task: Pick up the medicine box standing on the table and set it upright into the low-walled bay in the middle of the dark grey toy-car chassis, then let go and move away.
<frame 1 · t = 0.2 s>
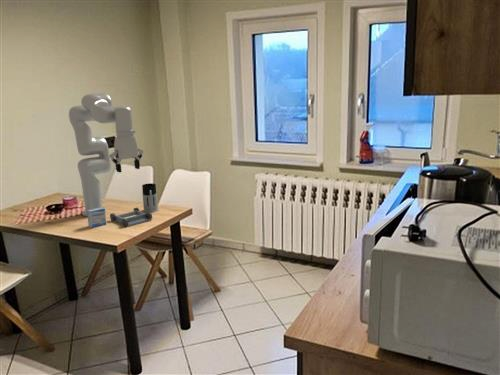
hand: (128, 170, 199), 31 cm above the table, tool pointing down, fingers open, 9 cm apart
chassis: (131, 220, 224), on the table
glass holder: (151, 212, 238), on the table
medicine box: (97, 225, 217), on the table
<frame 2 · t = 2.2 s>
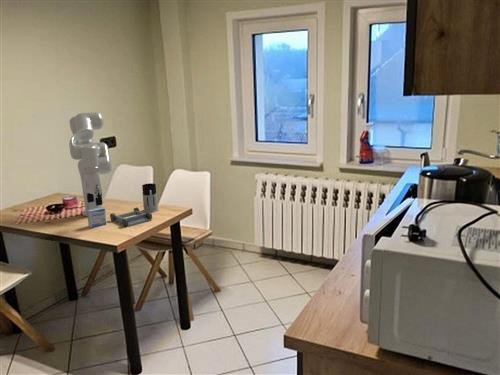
hand: (95, 203, 214), 12 cm above the table, tool pointing down, fingers open, 9 cm apart
nothing on the table moved.
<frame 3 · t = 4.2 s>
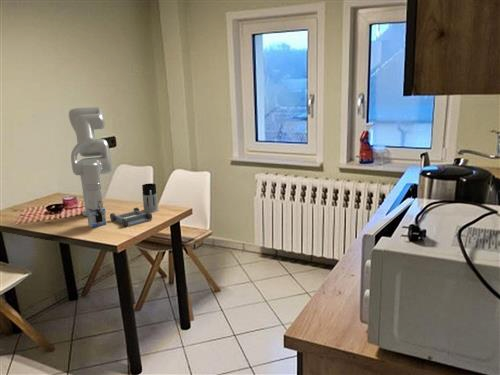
hand: (97, 220, 216), 2 cm above the table, tool pointing down, fingers closed on medicine box, 4 cm apart
medicine box: (97, 225, 217), on the table, touching gripper
everything else where it was.
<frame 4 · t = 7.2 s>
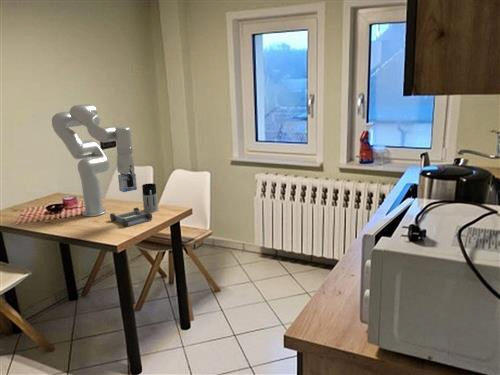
hand: (127, 185, 219), 19 cm above the table, tool pointing down, fingers closed on medicine box, 4 cm apart
medicine box: (128, 190, 220), point 16 cm above the table, touching gripper
everything else where it was.
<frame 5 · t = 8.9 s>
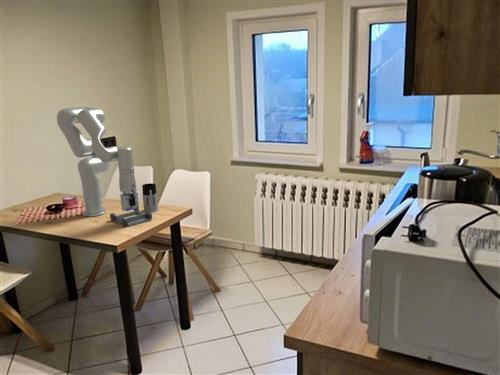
hand: (130, 204, 222), 9 cm above the table, tool pointing down, fingers closed on medicine box, 4 cm apart
medicine box: (130, 209, 222), point 6 cm above the table, touching gripper
everything else where it was.
when the fingers open (5 cm above the table, at t = 10.5 s): medicine box drops 1 cm, resting on chassis.
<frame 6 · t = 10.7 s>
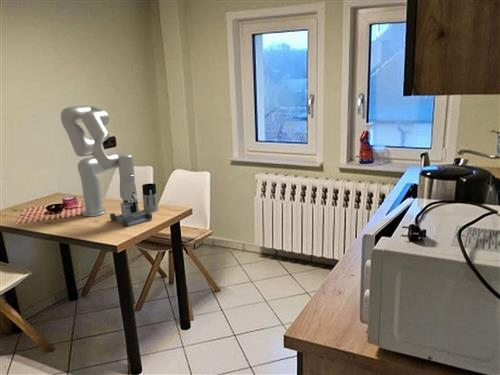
hand: (130, 210, 222), 5 cm above the table, tool pointing down, fingers open, 6 cm apart
medicine box: (130, 218, 224), point 1 cm above the table, touching chassis
everything else where it was.
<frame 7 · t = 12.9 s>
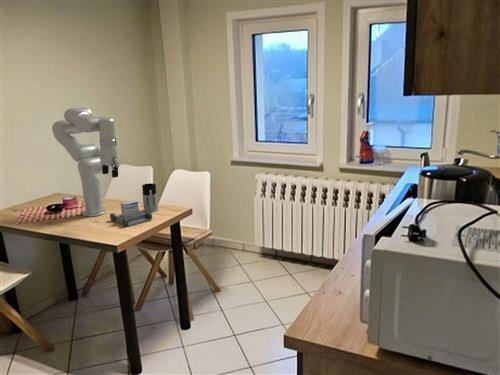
hand: (110, 175, 218), 25 cm above the table, tool pointing down, fingers open, 9 cm apart
nothing on the table moved.
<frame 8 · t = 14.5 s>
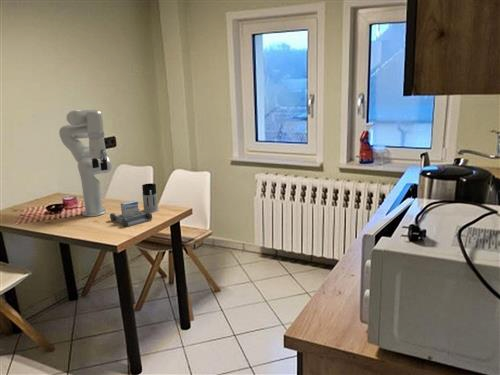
hand: (100, 168, 216), 28 cm above the table, tool pointing down, fingers open, 9 cm apart
nothing on the table moved.
at the end: medicine box 0.3 cm off-centre on the chassis, point 1.0 cm above the chassis's base; medicine box tilted 0°; the gripper is holding nothing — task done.
